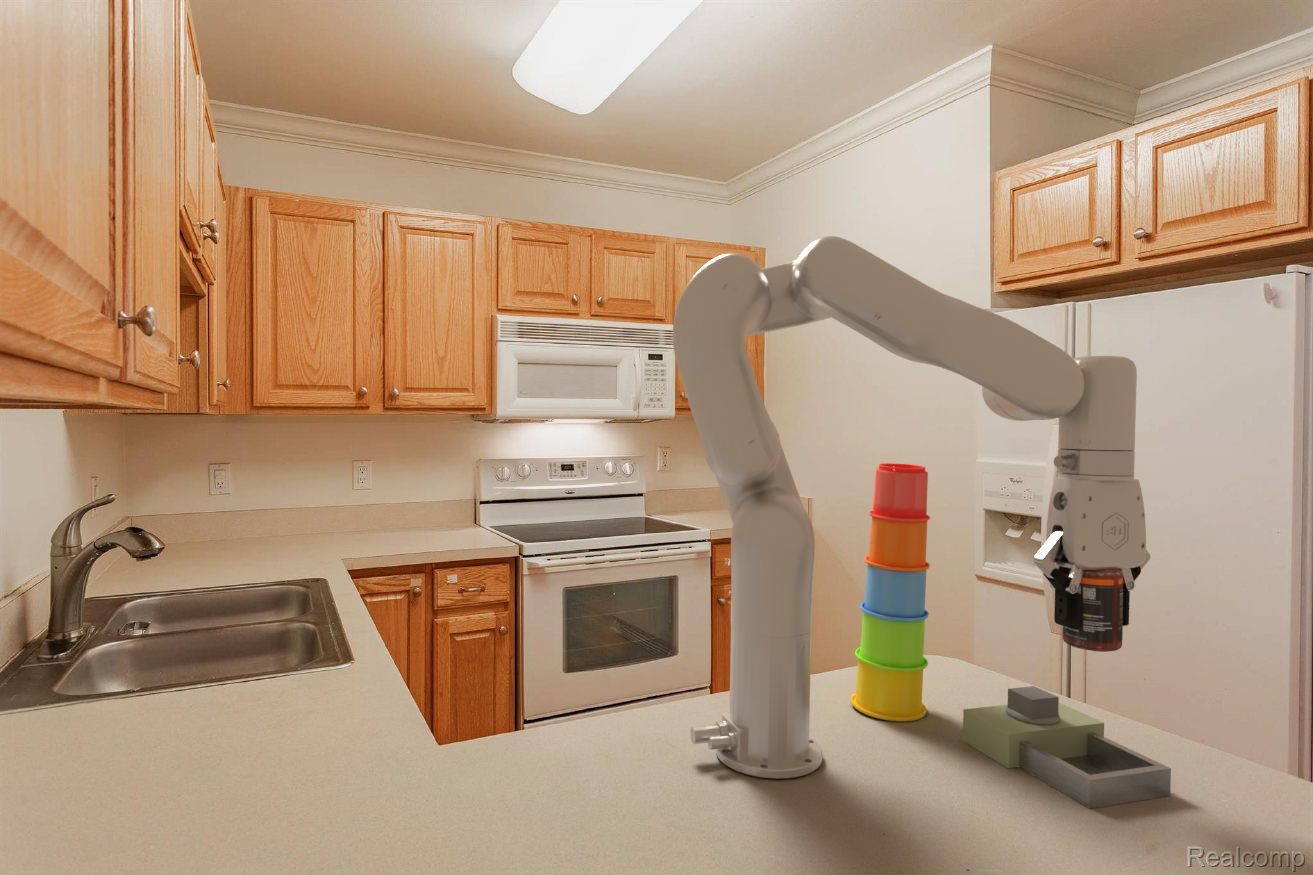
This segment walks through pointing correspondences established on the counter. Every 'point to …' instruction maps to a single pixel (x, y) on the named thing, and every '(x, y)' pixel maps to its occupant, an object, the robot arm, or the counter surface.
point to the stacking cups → (895, 598)
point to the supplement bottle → (1099, 611)
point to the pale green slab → (1028, 726)
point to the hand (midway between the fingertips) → (1091, 623)
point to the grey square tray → (1099, 773)
